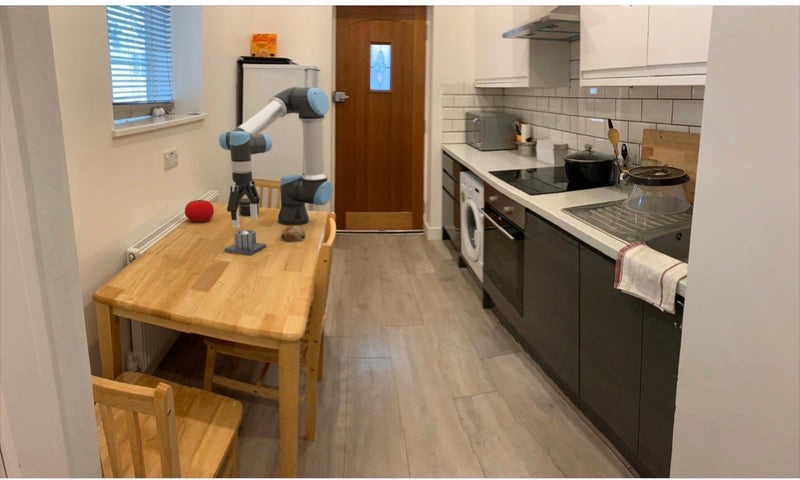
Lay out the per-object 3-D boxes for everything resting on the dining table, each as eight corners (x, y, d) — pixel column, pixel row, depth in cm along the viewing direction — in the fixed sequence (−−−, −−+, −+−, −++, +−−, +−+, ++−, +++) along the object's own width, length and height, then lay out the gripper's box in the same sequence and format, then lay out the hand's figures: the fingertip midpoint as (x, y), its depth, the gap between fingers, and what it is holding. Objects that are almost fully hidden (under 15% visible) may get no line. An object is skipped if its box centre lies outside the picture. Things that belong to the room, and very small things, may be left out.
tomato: (202, 225, 258) (201, 203, 255) (179, 222, 261) (177, 201, 259) (220, 218, 271) (219, 198, 268) (198, 216, 275) (196, 196, 272)
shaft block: (241, 244, 230) (240, 225, 228) (266, 247, 227) (265, 228, 225) (224, 252, 219) (223, 232, 217) (250, 255, 216) (249, 235, 214)
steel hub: (242, 242, 228) (241, 228, 226) (260, 244, 225) (259, 230, 224) (230, 247, 220) (230, 233, 218) (249, 250, 218) (248, 235, 216)
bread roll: (296, 250, 236) (303, 235, 234) (275, 239, 237) (282, 223, 234) (304, 244, 246) (311, 229, 243) (284, 233, 246) (291, 218, 243)
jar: (235, 214, 282) (234, 199, 280) (251, 211, 289) (250, 197, 287) (246, 217, 276) (245, 202, 273) (263, 214, 283) (262, 200, 281)
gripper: (250, 165, 227) (253, 215, 233) (214, 176, 204) (219, 230, 210) (266, 167, 225) (269, 216, 231) (232, 177, 202) (236, 232, 208)
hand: (245, 223), depth 220 cm, fingers open, 13 cm apart
